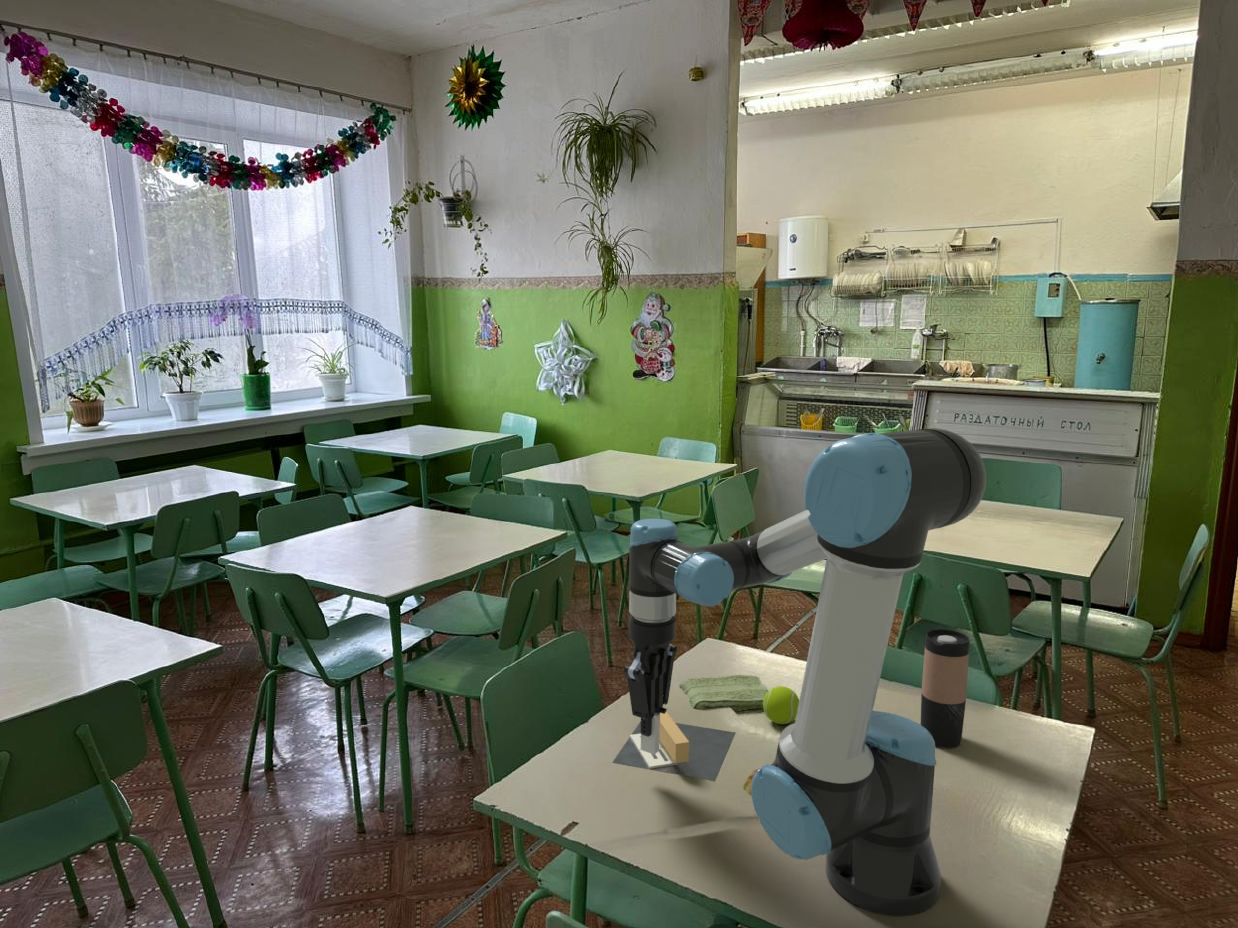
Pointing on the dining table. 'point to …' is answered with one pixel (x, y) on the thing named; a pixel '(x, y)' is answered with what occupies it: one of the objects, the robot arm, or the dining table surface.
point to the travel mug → (944, 686)
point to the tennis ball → (781, 705)
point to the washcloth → (725, 692)
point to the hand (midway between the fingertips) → (649, 750)
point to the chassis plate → (703, 752)
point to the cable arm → (673, 739)
